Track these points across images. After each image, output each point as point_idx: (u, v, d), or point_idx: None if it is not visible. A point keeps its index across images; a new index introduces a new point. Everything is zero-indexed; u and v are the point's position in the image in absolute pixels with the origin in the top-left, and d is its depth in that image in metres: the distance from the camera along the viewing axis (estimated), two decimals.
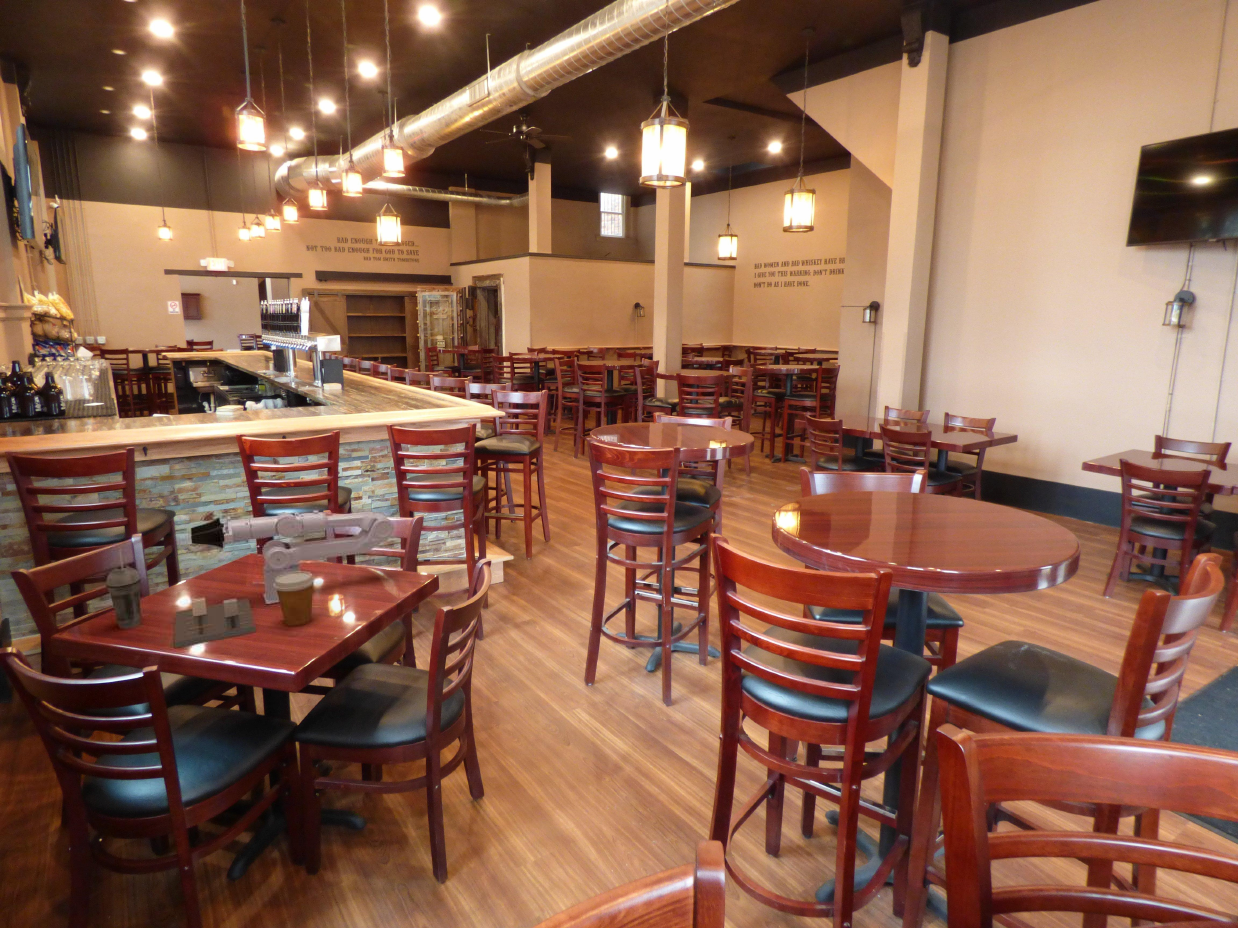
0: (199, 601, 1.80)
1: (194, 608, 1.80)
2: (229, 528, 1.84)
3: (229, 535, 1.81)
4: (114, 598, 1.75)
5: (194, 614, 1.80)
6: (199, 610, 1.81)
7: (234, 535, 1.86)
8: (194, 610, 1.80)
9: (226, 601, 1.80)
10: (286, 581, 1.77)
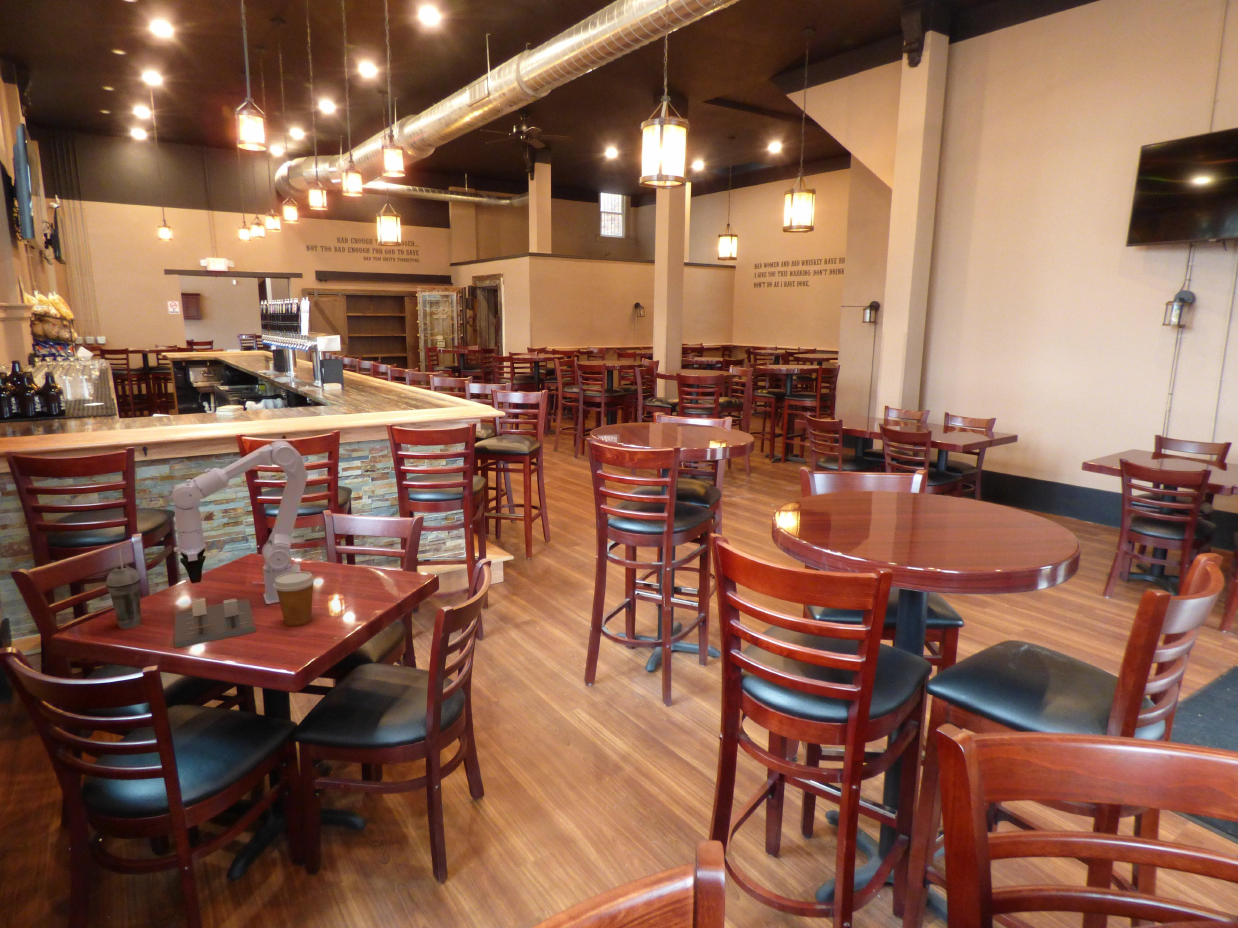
0: (199, 601, 1.80)
1: (194, 608, 1.80)
2: (184, 552, 1.79)
3: (189, 556, 1.77)
4: (114, 598, 1.75)
5: (194, 614, 1.80)
6: (199, 610, 1.81)
7: (194, 545, 1.81)
8: (194, 610, 1.80)
9: (226, 601, 1.80)
10: (286, 581, 1.77)
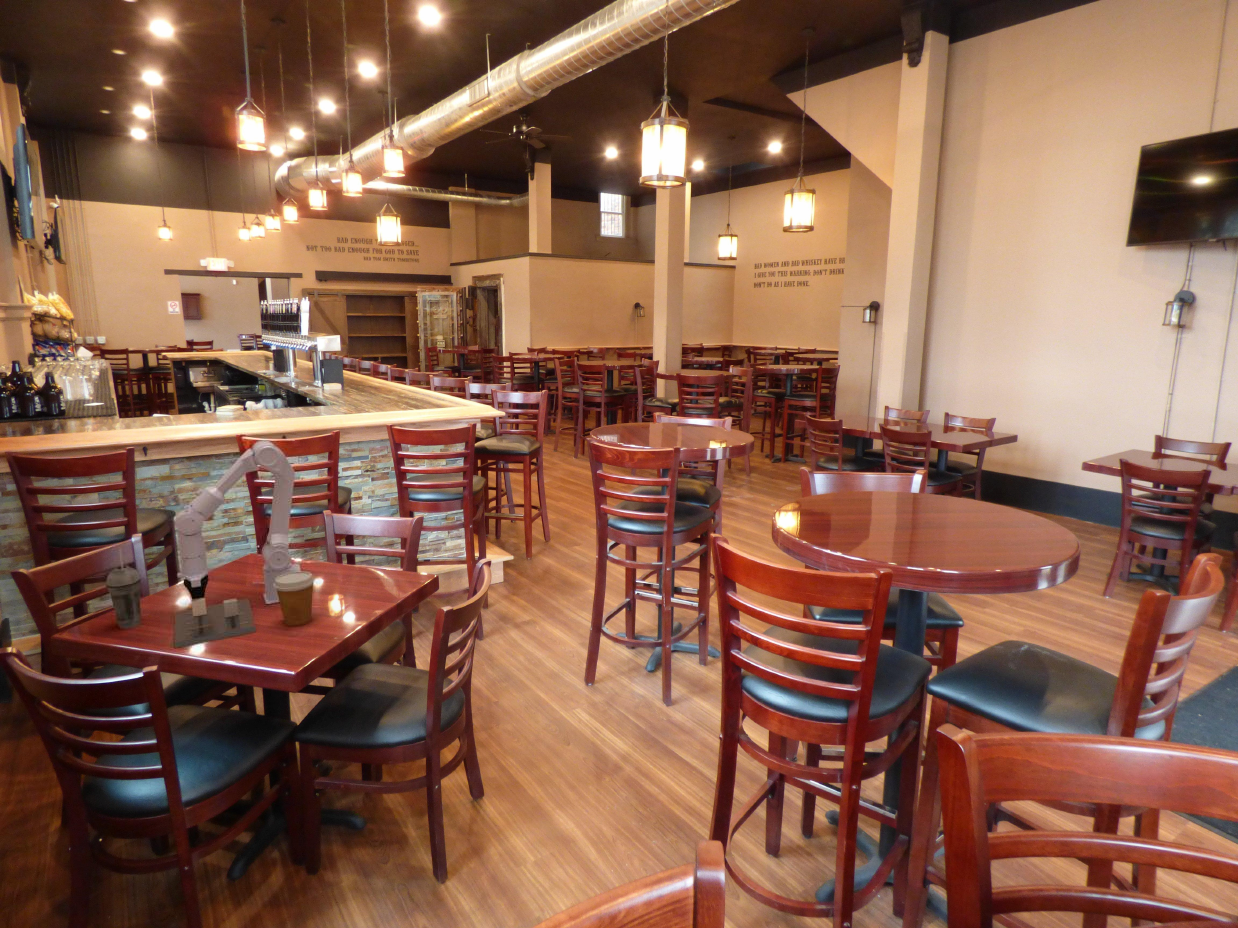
0: (199, 601, 1.80)
1: (194, 608, 1.80)
2: (187, 578, 1.80)
3: (192, 582, 1.78)
4: (114, 598, 1.75)
5: (194, 614, 1.80)
6: (199, 610, 1.81)
7: (198, 571, 1.82)
8: (194, 610, 1.80)
9: (226, 601, 1.80)
10: (286, 581, 1.77)
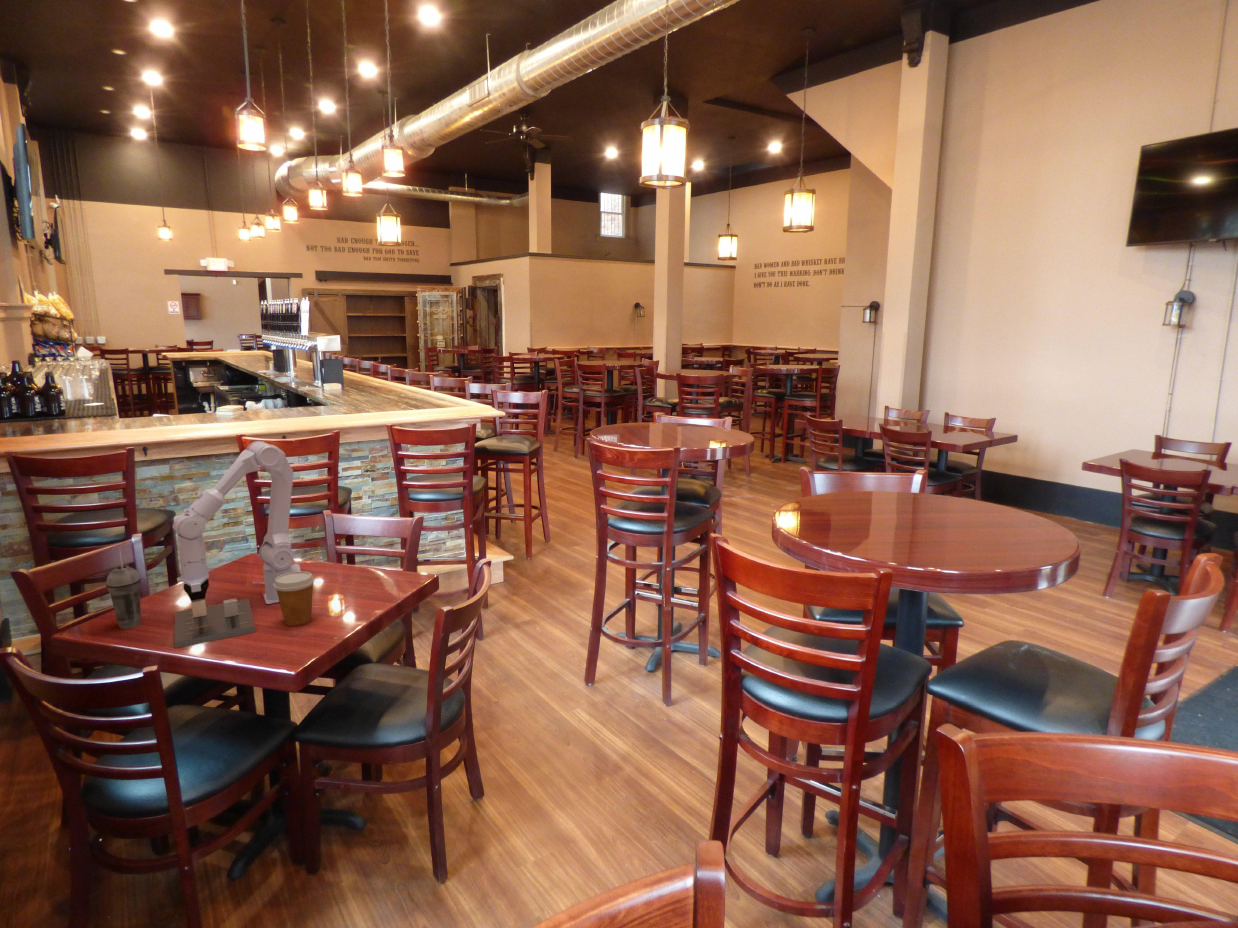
0: (199, 602, 1.80)
1: (194, 609, 1.79)
2: (187, 583, 1.77)
3: (192, 587, 1.75)
4: (114, 598, 1.75)
5: (194, 615, 1.80)
6: (199, 611, 1.80)
7: (198, 576, 1.79)
8: (194, 611, 1.79)
9: (226, 601, 1.80)
10: (286, 581, 1.77)
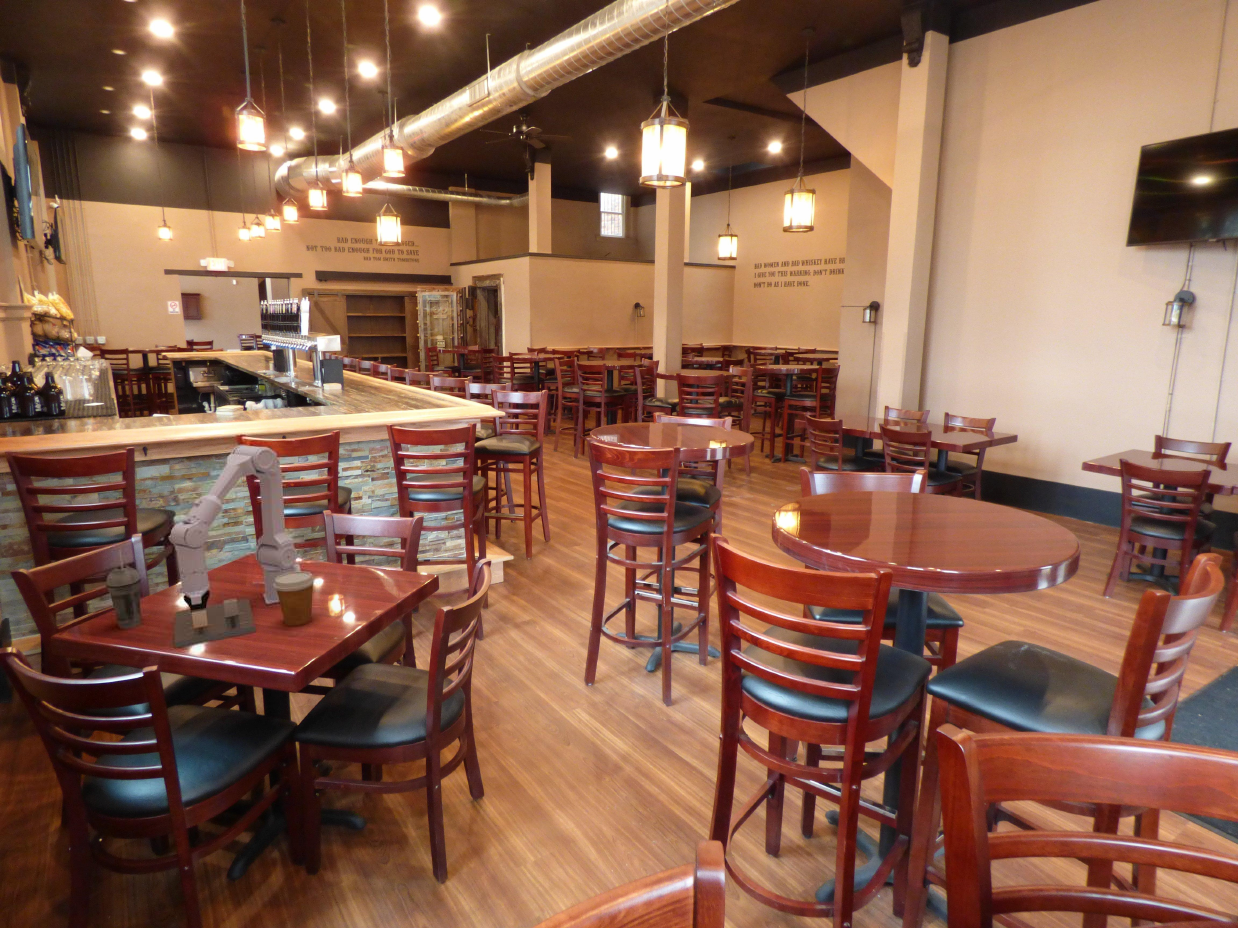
0: (200, 612, 1.74)
1: (194, 619, 1.73)
2: (187, 595, 1.70)
3: (192, 599, 1.67)
4: (114, 598, 1.75)
5: (194, 625, 1.74)
6: (199, 621, 1.74)
7: (198, 587, 1.72)
8: (194, 621, 1.73)
9: (226, 601, 1.80)
10: (286, 581, 1.77)
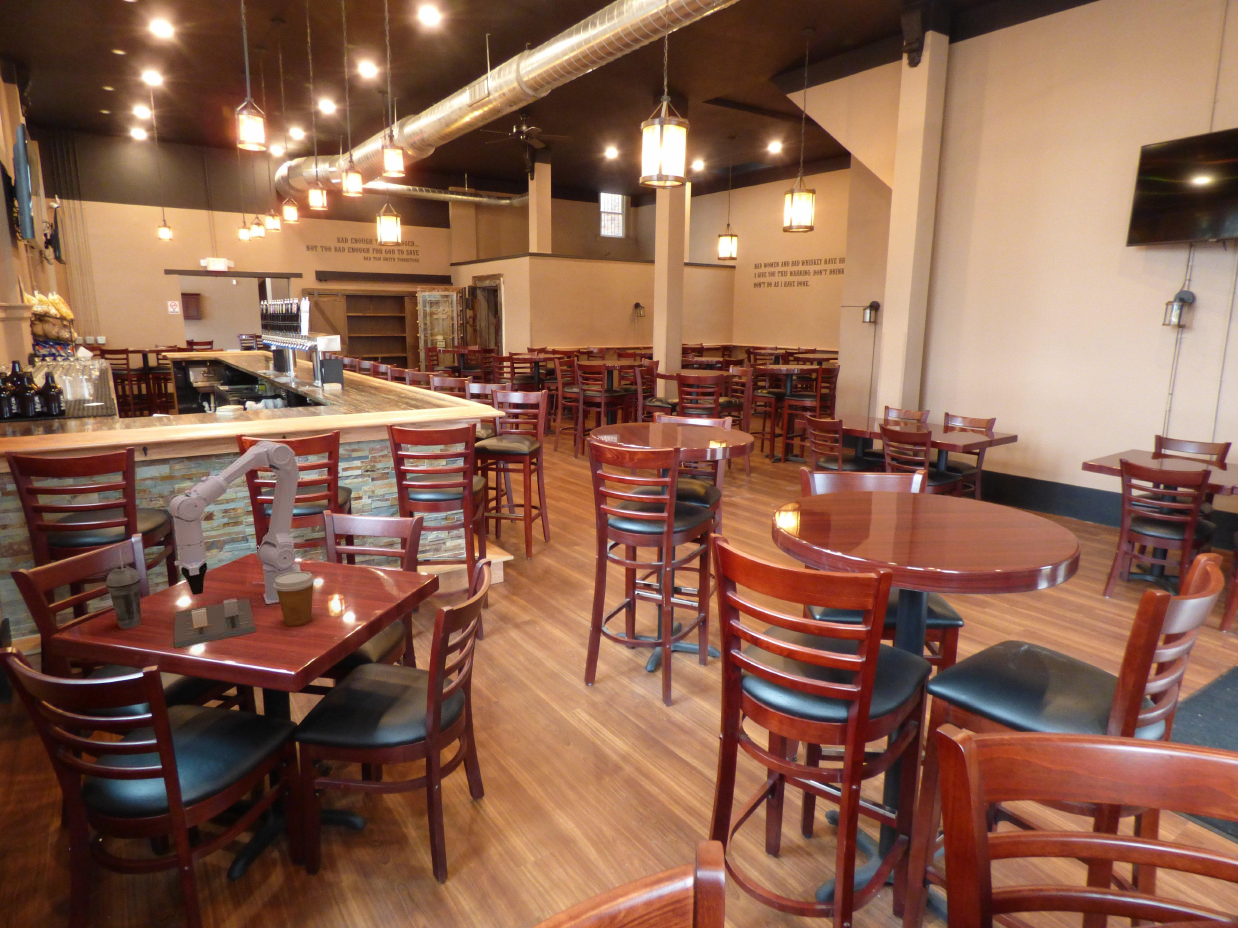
0: (200, 612, 1.74)
1: (194, 619, 1.73)
2: (185, 566, 1.73)
3: (190, 570, 1.71)
4: (114, 598, 1.75)
5: (194, 625, 1.74)
6: (199, 621, 1.74)
7: (196, 559, 1.75)
8: (194, 621, 1.73)
9: (226, 601, 1.80)
10: (286, 581, 1.77)
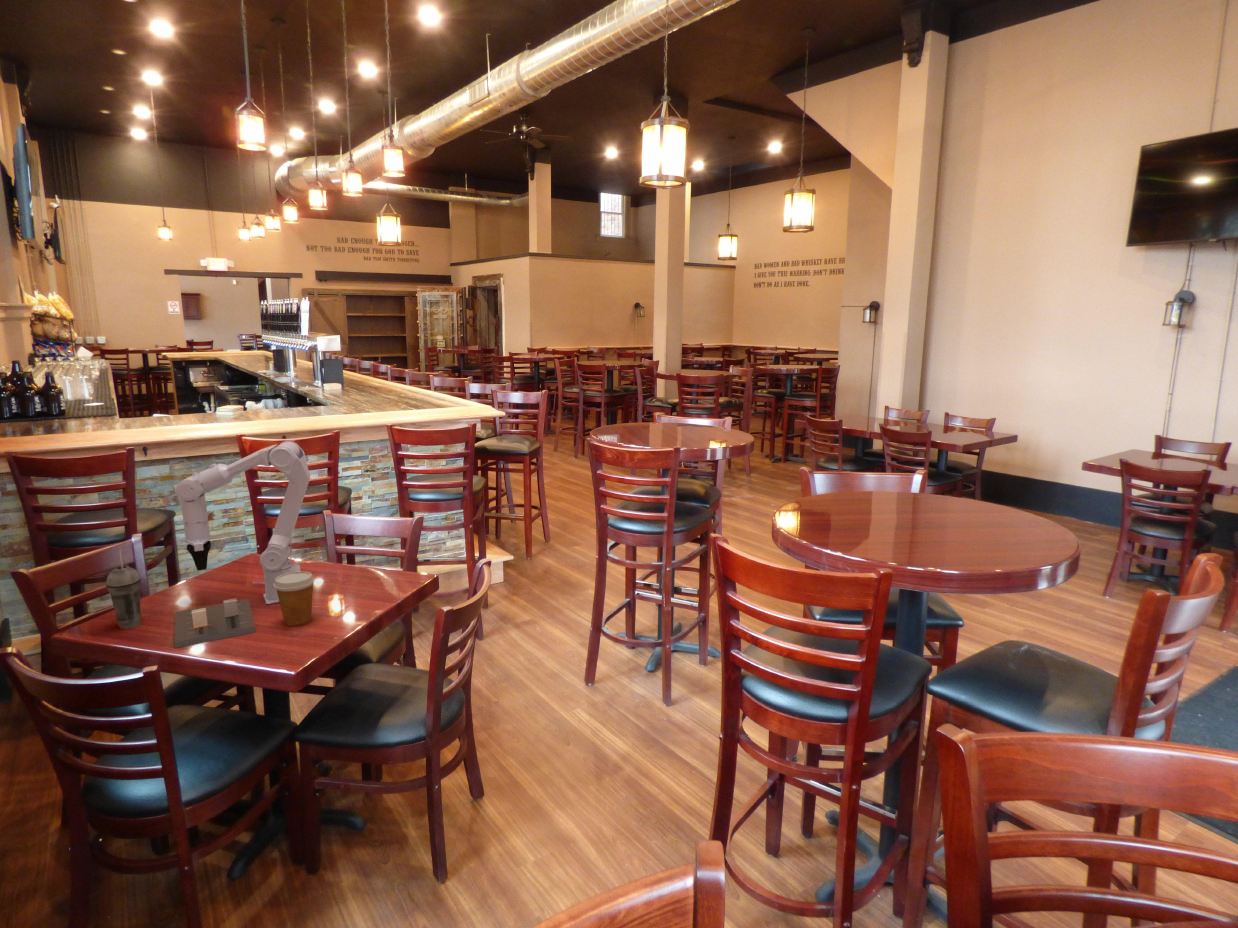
0: (200, 612, 1.74)
1: (194, 619, 1.73)
2: (190, 543, 1.85)
3: (195, 546, 1.83)
4: (114, 598, 1.75)
5: (194, 625, 1.74)
6: (199, 621, 1.74)
7: (200, 536, 1.87)
8: (194, 621, 1.73)
9: (226, 601, 1.80)
10: (286, 581, 1.77)
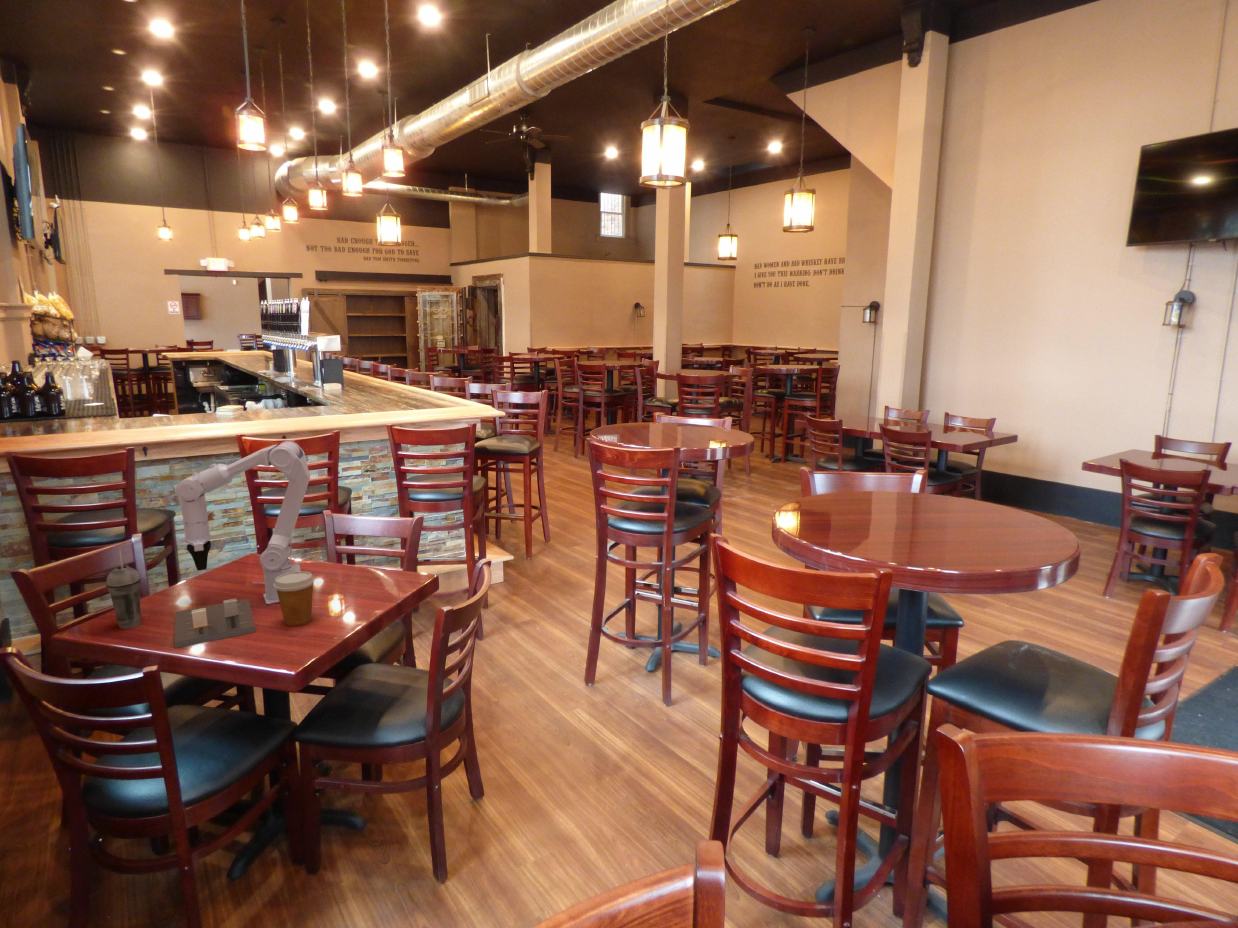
0: (200, 612, 1.74)
1: (194, 619, 1.73)
2: (190, 543, 1.85)
3: (195, 546, 1.83)
4: (114, 598, 1.75)
5: (194, 625, 1.74)
6: (199, 621, 1.74)
7: (200, 536, 1.87)
8: (194, 621, 1.73)
9: (226, 601, 1.80)
10: (286, 581, 1.77)
